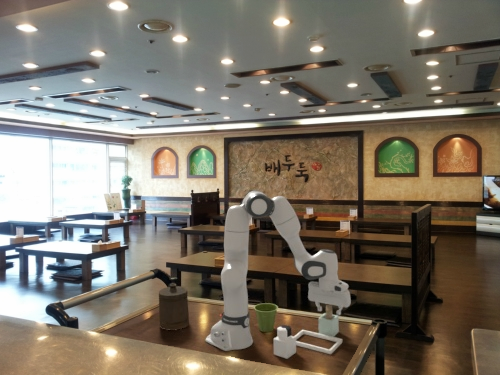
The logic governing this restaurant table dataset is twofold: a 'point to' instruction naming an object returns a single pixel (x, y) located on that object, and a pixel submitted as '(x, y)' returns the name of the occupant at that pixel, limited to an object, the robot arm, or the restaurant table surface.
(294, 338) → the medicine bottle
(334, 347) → the melamine tray
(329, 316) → the beech dowel
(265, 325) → the plant pot
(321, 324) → the celadon cup
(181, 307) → the wooden container
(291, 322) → the restaurant table surface
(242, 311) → the robot arm
